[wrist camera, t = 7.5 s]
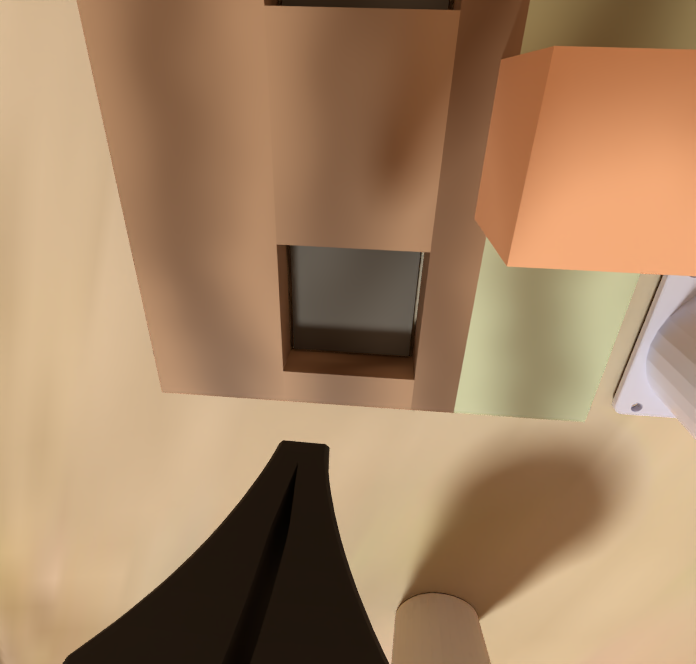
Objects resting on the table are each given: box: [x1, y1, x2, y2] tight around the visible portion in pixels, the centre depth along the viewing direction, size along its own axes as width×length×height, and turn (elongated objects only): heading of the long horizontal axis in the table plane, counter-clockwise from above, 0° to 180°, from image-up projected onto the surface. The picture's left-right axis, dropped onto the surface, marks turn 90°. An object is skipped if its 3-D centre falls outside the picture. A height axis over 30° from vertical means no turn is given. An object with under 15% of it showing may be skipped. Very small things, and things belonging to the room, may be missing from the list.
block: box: [474, 46, 696, 276], centre depth 13 cm, size 5×5×5 cm
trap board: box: [77, 0, 696, 422], centre depth 16 cm, size 20×23×2 cm
